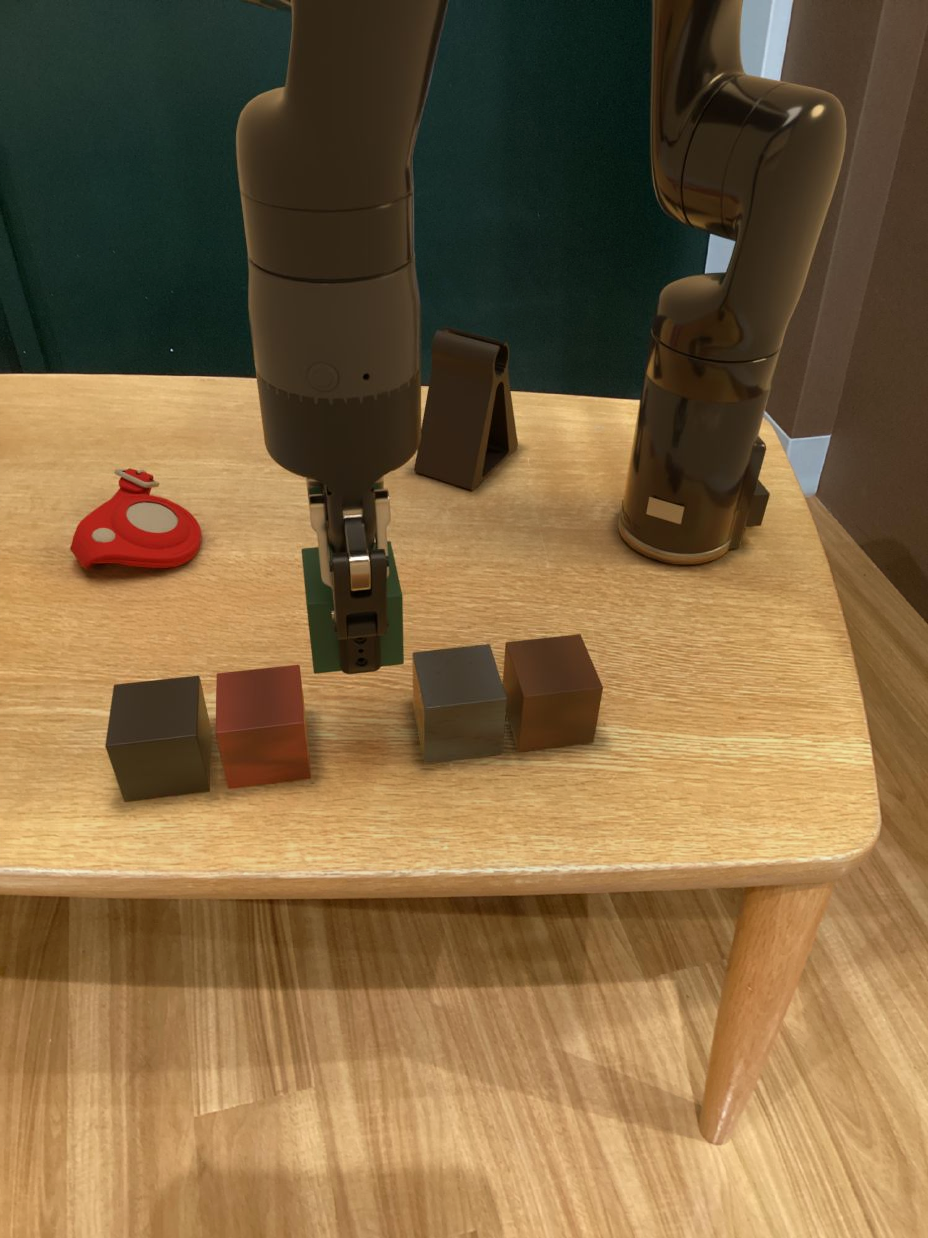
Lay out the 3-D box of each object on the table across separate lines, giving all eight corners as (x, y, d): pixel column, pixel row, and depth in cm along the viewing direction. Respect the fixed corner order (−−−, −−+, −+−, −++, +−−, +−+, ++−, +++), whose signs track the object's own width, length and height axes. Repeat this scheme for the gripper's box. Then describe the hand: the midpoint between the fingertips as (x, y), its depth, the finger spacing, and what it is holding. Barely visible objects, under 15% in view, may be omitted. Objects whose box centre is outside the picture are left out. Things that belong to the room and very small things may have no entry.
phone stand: (471, 492, 81) (476, 363, 73) (413, 472, 83) (412, 346, 76) (518, 448, 87) (526, 325, 79) (463, 431, 89) (466, 310, 82)
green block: (392, 608, 55) (390, 540, 52) (404, 664, 52) (402, 595, 48) (308, 616, 54) (301, 547, 51) (313, 674, 51) (306, 604, 47)
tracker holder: (228, 536, 73) (111, 563, 66) (218, 577, 76) (103, 607, 69) (149, 447, 78) (31, 464, 71) (141, 489, 81) (27, 509, 74)
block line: (572, 688, 63) (580, 633, 60) (594, 743, 59) (603, 687, 56) (131, 740, 58) (113, 684, 55) (124, 803, 55) (104, 746, 51)
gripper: (446, 425, 37) (441, 718, 48) (399, 291, 48) (403, 556, 59) (256, 437, 36) (295, 735, 47) (251, 297, 47) (284, 566, 58)
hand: (355, 634), depth 53 cm, fingers closed on green block, 5 cm apart
